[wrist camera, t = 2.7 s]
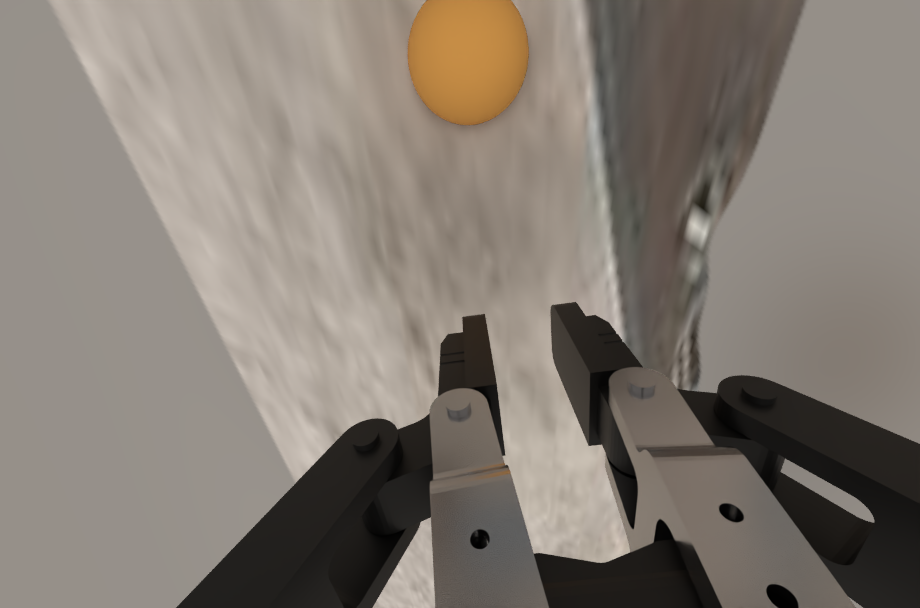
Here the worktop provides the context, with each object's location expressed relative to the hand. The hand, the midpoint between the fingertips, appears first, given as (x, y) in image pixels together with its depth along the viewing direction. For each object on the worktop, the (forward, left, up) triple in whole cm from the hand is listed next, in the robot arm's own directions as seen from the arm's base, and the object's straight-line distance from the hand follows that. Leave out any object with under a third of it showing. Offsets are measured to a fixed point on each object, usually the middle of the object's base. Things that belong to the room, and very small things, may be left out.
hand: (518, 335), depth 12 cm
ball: (-9, 0, -12) cm, 15 cm away
